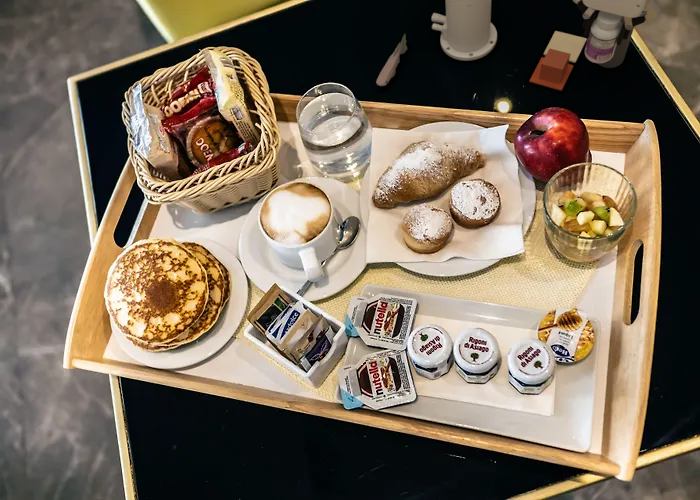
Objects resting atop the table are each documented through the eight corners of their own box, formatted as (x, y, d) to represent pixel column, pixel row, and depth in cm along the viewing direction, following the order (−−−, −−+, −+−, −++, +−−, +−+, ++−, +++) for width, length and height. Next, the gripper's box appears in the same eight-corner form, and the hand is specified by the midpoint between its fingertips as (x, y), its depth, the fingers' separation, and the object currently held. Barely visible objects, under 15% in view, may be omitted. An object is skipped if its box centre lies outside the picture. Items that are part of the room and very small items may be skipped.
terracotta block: (559, 84, 127) (562, 69, 123) (539, 78, 129) (541, 63, 125) (567, 68, 129) (570, 53, 125) (546, 63, 130) (549, 48, 126)
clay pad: (529, 82, 130) (529, 80, 129) (541, 58, 132) (541, 56, 131) (561, 91, 127) (561, 89, 127) (573, 66, 129) (573, 65, 129)
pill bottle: (592, 39, 117) (603, -1, 108) (618, 48, 115) (631, 9, 106) (578, 58, 115) (588, 20, 107) (605, 68, 113) (617, 30, 105)
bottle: (623, 68, 127) (641, 13, 113) (594, 68, 128) (608, 13, 115) (624, 47, 129) (641, -10, 116) (595, 46, 131) (609, -10, 117)
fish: (412, 49, 139) (410, 33, 135) (386, 95, 135) (383, 80, 130) (402, 47, 140) (399, 31, 136) (375, 92, 136) (372, 77, 131)
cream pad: (543, 54, 132) (543, 53, 132) (555, 32, 134) (555, 30, 134) (575, 63, 130) (575, 61, 129) (586, 39, 132) (586, 38, 131)
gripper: (694, -55, 93) (658, 32, 109) (583, -77, 99) (565, 9, 115) (679, -21, 91) (645, 63, 107) (566, -46, 96) (550, 37, 112)
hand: (604, 34), depth 111 cm, fingers closed on pill bottle, 5 cm apart
